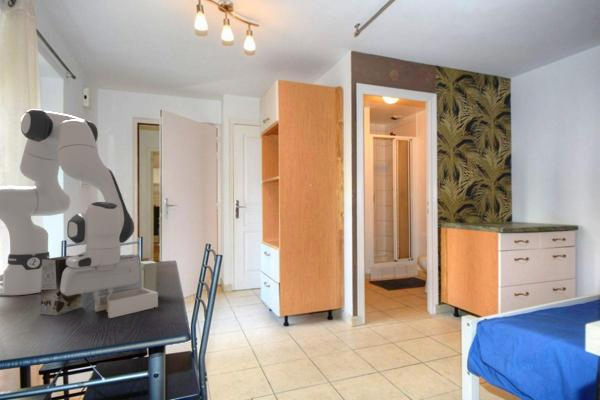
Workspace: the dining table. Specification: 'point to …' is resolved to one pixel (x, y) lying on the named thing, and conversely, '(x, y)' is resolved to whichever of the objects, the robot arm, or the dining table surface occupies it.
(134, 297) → the open tray
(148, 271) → the skincare box
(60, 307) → the coffee box
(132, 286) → the lid
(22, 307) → the dining table surface
